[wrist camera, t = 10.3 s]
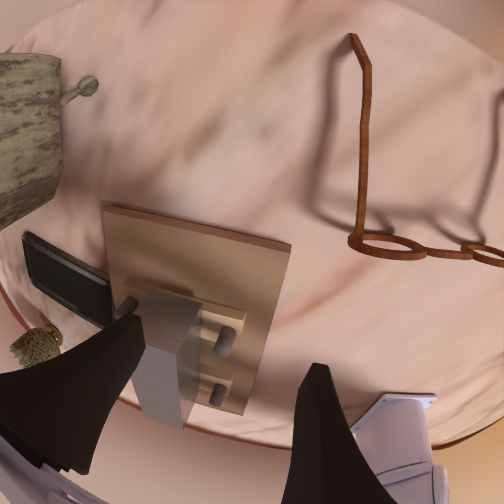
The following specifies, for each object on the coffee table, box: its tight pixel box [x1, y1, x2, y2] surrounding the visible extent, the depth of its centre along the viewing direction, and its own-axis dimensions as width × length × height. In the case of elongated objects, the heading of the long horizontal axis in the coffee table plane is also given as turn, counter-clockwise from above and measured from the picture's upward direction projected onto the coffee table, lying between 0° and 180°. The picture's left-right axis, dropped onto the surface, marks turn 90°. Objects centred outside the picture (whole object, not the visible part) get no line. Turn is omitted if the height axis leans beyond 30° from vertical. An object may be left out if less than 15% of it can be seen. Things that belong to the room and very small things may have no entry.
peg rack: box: [102, 206, 291, 416], centre depth 22 cm, size 22×14×4 cm, turn 171°
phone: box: [22, 231, 116, 330], centre depth 25 cm, size 8×1×15 cm
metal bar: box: [131, 289, 203, 430], centre depth 20 cm, size 12×4×5 cm, turn 171°
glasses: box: [347, 33, 504, 268], centre depth 11 cm, size 13×13×5 cm
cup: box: [10, 325, 63, 369], centre depth 28 cm, size 8×7×8 cm
